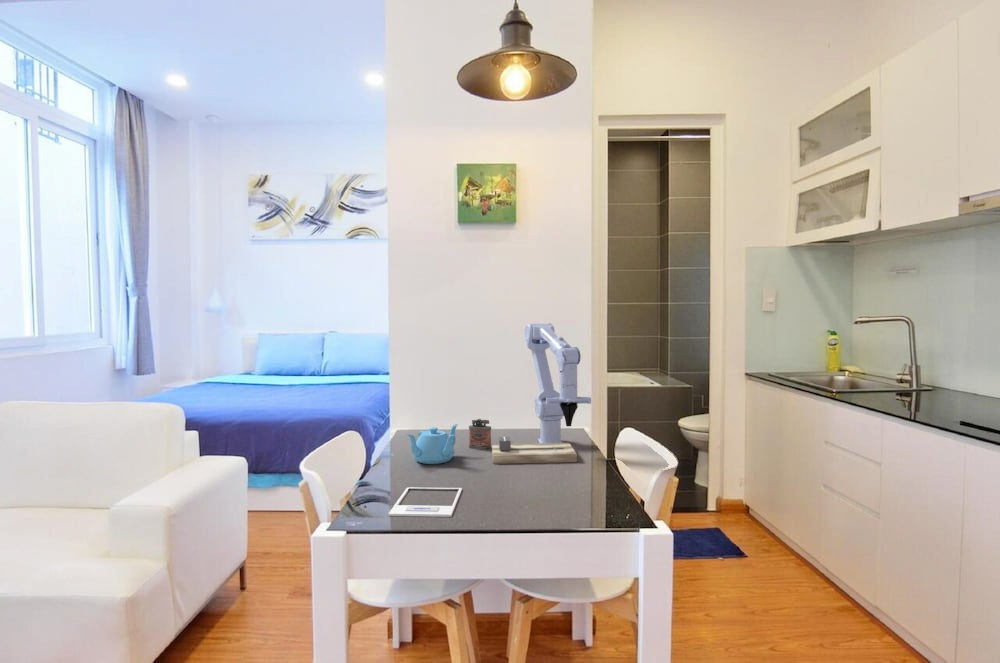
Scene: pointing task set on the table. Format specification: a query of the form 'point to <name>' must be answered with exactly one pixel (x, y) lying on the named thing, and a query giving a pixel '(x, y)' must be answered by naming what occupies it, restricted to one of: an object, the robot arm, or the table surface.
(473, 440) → the lighter
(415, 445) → the teapot
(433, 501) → the table surface
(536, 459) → the console board
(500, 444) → the fader
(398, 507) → the photo frame
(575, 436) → the table surface
